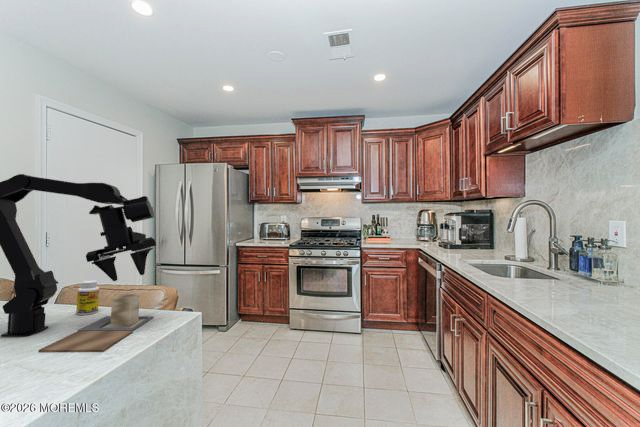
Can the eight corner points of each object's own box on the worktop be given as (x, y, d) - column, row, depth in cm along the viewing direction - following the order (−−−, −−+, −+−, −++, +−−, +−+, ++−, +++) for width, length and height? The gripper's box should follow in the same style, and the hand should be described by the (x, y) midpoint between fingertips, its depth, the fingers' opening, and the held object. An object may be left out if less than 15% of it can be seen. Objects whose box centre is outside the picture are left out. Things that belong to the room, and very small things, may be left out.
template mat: (77, 332, 78) (77, 330, 78) (106, 318, 90) (106, 316, 90) (131, 332, 79) (132, 330, 79) (153, 318, 91) (153, 316, 91)
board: (38, 352, 66) (38, 350, 66) (78, 333, 78) (78, 330, 78) (103, 352, 67) (103, 349, 67) (132, 333, 79) (132, 330, 79)
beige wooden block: (110, 326, 83) (112, 298, 83) (120, 321, 88) (122, 294, 88) (128, 326, 83) (130, 298, 83) (138, 321, 88) (139, 294, 88)
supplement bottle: (74, 316, 90) (76, 283, 91) (77, 312, 95) (79, 280, 96) (97, 314, 94) (99, 282, 94) (98, 309, 98) (100, 279, 99)
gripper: (161, 216, 91) (174, 264, 92) (111, 229, 94) (123, 275, 94) (134, 220, 80) (149, 274, 81) (77, 234, 83) (92, 287, 83)
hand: (128, 277), depth 85 cm, fingers open, 9 cm apart
